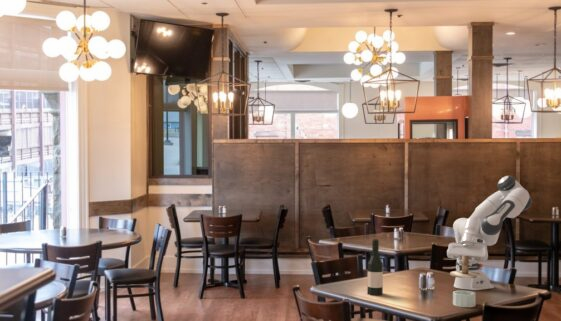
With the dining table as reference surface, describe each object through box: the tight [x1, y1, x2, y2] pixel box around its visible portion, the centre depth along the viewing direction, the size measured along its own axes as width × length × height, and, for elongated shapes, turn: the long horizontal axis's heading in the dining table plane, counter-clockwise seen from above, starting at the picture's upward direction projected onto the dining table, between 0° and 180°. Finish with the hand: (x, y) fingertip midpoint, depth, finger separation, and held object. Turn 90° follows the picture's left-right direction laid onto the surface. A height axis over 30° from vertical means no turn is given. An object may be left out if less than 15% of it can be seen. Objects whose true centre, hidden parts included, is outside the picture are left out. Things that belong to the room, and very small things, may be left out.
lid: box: [449, 255, 481, 278], centre depth 344 cm, size 15×15×10 cm
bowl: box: [452, 290, 477, 308], centre depth 344 cm, size 11×11×6 cm
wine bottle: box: [366, 238, 384, 297], centre depth 368 cm, size 8×8×30 cm
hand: (465, 265), depth 343 cm, fingers closed on lid, 3 cm apart
